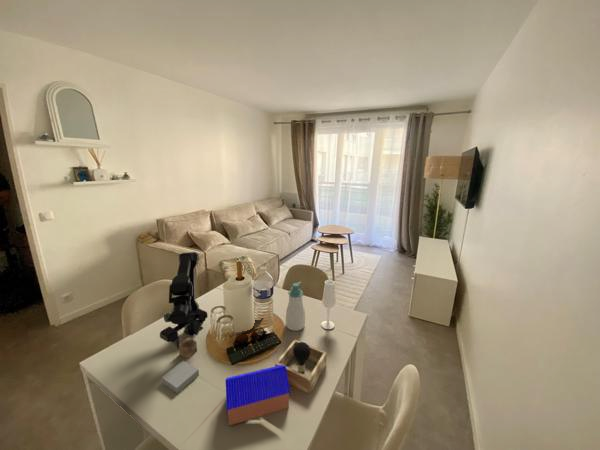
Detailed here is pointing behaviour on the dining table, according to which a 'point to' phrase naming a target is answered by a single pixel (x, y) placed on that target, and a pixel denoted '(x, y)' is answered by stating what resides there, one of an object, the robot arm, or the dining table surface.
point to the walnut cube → (187, 348)
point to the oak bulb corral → (299, 378)
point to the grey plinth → (180, 376)
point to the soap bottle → (295, 309)
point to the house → (257, 393)
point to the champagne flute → (328, 301)
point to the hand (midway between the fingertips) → (187, 341)
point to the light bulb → (301, 354)
